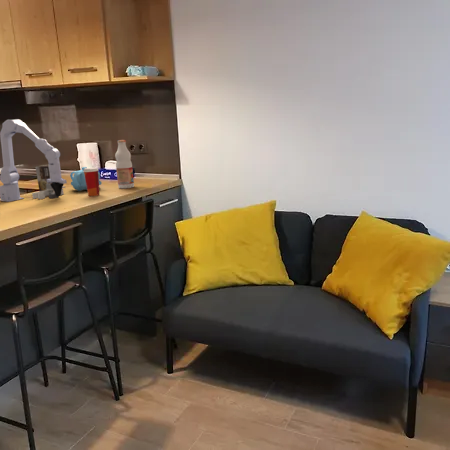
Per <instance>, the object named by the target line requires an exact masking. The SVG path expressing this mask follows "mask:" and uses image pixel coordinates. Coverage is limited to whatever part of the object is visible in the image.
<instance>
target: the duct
mask: <svg viewBox="0 0 450 450" xmlns="http://www.w3.org/2000/svg"><path fill="white" fill-rule="evenodd" d="M52 193H55V192H54V190H45V191H40V192H39V191H35V192H32V193H31V196H32V200H34V199H38V200H42V199H46V197H49V194H52ZM64 194H65V193H64V188H62V191H61V196H62V195H64Z"/></svg>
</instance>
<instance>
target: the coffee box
mask: <svg viewBox="0 0 450 450" xmlns="http://www.w3.org/2000/svg"><path fill="white" fill-rule="evenodd" d="M35 173H36V178H37V184H38V185H37V186H38V192H40V191H45V190H46V189H47V188H46V184H52V183H50V182H49V183H47V179H51V178H50V171H49V164H41V165H38V166H35Z"/></svg>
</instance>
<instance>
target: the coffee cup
mask: <svg viewBox="0 0 450 450" xmlns="http://www.w3.org/2000/svg"><path fill="white" fill-rule="evenodd" d="M98 168H99V167H87V168H85V169H84V171H83V172H84V175H85V180H86V186H87V190H86V191H87V195H88V197H97V196H99V195H100V185H99V181H100V179H99V177H98V172H100V170H99V169H98Z"/></svg>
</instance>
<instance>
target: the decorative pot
mask: <svg viewBox="0 0 450 450" xmlns="http://www.w3.org/2000/svg"><path fill="white" fill-rule="evenodd" d="M85 168H88V167H87V166H82V167H81V169H80V170H75V171H72V172H70V174H69V175H70V179H71V180H72V181H71V182H70V186H72V188H73V189H74V190H75V191H77V192H82V191H83V190H84V191H85V190H86V191H87V186H86V180H85V175H84V172H83V171H84V169H85ZM98 177H99V186H101V185H102V184H103V182H102V180H100V179H101V173H100V171H98Z"/></svg>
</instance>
